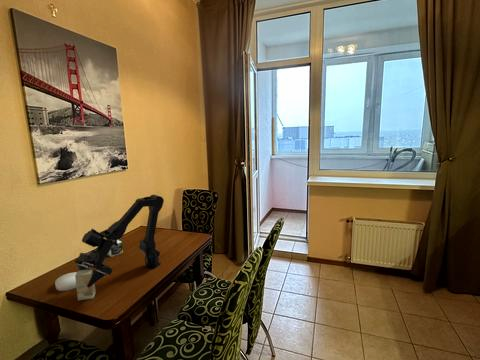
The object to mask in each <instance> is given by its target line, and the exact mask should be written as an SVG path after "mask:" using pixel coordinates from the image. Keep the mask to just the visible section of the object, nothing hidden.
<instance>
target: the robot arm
mask: <svg viewBox="0 0 480 360" xmlns="http://www.w3.org/2000/svg"><path fill="white" fill-rule="evenodd" d="M164 201H165V199H164V198H163V197H162V196H160V195H157V194H151V195H150V196H144V197H141V198H136V199H135V201H134V203H132V205H131V206H130V207H129V208H128V210H127V211H126V212H125V213H124V214H123V215H122V217H120V219H119V220H117V221H115V222H114V223H112V224H111V225H110V226H109V227H108V228H106V229H105V230H104V229H103V230H102V231H97V230H95V228H91V229H90V230H89V231H87V232H86V233H84V235H83V237H82V238H81V243H83V244H85V245H88V246H90V247H93V248H96V249H95V250H92V251H91V252H79V255H78V257H77V258H76V259H75V260H74V263H75V264H76V266H77V268H78V271H80V270H88V269H90V268H91V269H93V275H92V277H91V279H90V281H89V283H88V285H87V287H91V286H92V285H93V284H94V283H95V284H96V283H97V282H98V281H99V280H101V279H102V278H104V277H105V276H107V275H109V276H110V275H111V274H112V273H113V268H112V267H110V266H108V265H105V264H104V262H105V260H106V259H109V257H110V255H108V253H109V251H110V250H111V248H112V246H113V245H114V246H118V243H117V240H119V241H120V240H121V239H122V237H123V236H124V234H125V233H126V231H127V228H128V226H129V225H130V224H131V222H133V220H134V219H135V217H136V216H137V215H138V214H139V213H140V211H141V210H142V209H143V208H144V207H145V208H146V207H148V211H149V212H148V217H147V223H146V229H145V235H144V237H143V239H140V240H139V245H138V248H139V251H140V252H141V253H143V254H144V255H145V256H144V261H145V262H144V263H145V265H143V268H145V269H146V268H147V269H150V270H155V269H156V268H157V267H159V266H160V265H161V264H162V263H161V262H160V259H159V257H160V254H161V251H158V250H157V249H156V241H155V234H156V229H157V224H158V218H159V213H160V211H161V210H162V209H163V207H164V206H163V205H164V203H165V202H164ZM111 239H113V240H111Z"/></svg>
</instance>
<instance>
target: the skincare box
mask: <svg viewBox="0 0 480 360" xmlns="http://www.w3.org/2000/svg"><path fill="white" fill-rule="evenodd" d="M93 270H94V268H88V270H80V271H79V270H78V271H76V272H77V273H76V275H75V278H76V295H77V301H84V300H91V299H94V297H95V296H96V293H97V292H96V282H95V283H94V284H93V285H92V286H91V287H87V285H88V283H89V281H90V279H91V277H92V275H93Z"/></svg>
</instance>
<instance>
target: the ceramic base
mask: <svg viewBox="0 0 480 360" xmlns="http://www.w3.org/2000/svg"><path fill="white" fill-rule="evenodd" d="M77 272H78V271H75V272H69V273H66V274H63V275H60V276H59V277H58V278H57V279H55V281H54V283H55V285H54V286H55V289H56V291H59V292H65V291H69V290H73V289H75V288H76V289H77V287H76V278H75V275H76V273H77Z"/></svg>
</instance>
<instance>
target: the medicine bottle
mask: <svg viewBox="0 0 480 360" xmlns="http://www.w3.org/2000/svg"><path fill="white" fill-rule="evenodd" d="M111 240H113V239H111ZM117 243H118V246H114V245H113V246H112V248H111V250H110V251H109V253H108V255H107V256H109V257H115V256H117V255H118V256H119V255H120V254H123V252H124V250H123V249H124V248H123V241H121V240H120V239H119V240H117Z"/></svg>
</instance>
